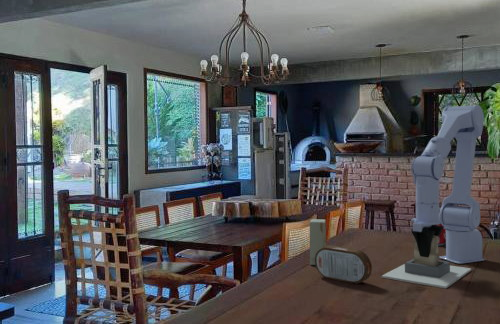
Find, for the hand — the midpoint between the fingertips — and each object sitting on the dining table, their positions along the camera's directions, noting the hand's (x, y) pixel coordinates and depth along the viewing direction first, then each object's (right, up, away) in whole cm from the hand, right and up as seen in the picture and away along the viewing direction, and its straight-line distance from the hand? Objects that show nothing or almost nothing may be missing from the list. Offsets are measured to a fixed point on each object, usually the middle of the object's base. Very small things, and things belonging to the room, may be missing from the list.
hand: (427, 255), depth 132 cm
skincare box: (-26, -5, +14) cm, 30 cm away
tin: (-23, -6, -4) cm, 24 cm away
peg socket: (0, -5, 0) cm, 5 cm away
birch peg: (0, -3, 0) cm, 3 cm away
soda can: (+15, -3, +36) cm, 39 cm away
